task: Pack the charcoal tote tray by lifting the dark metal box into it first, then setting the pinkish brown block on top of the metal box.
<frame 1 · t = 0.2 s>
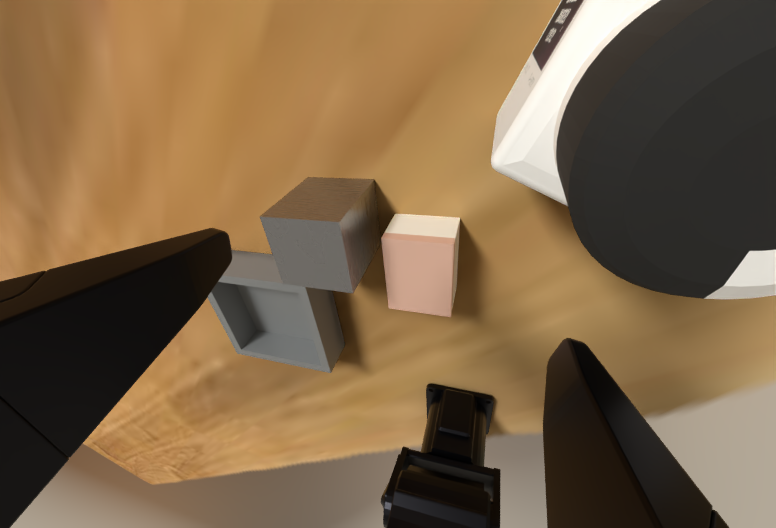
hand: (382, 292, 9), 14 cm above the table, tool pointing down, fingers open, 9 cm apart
metal box: (346, 210, 25), on the table
container: (611, 74, 16), on the table
pinkish brown block: (427, 250, 25), on the table
tote: (286, 299, 33), on the table
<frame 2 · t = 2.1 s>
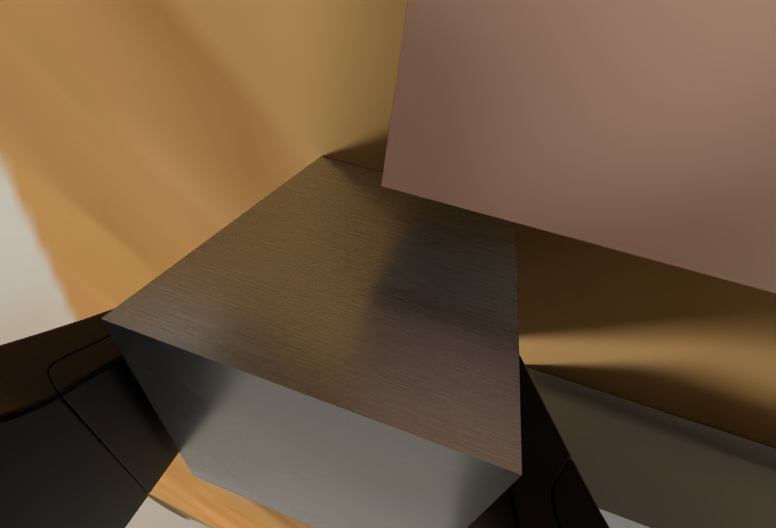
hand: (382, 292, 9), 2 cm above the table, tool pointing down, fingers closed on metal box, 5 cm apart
metal box: (398, 259, 10), on the table, touching gripper
pinkish brown block: (620, 33, 6), on the table
tote: (602, 485, 13), on the table
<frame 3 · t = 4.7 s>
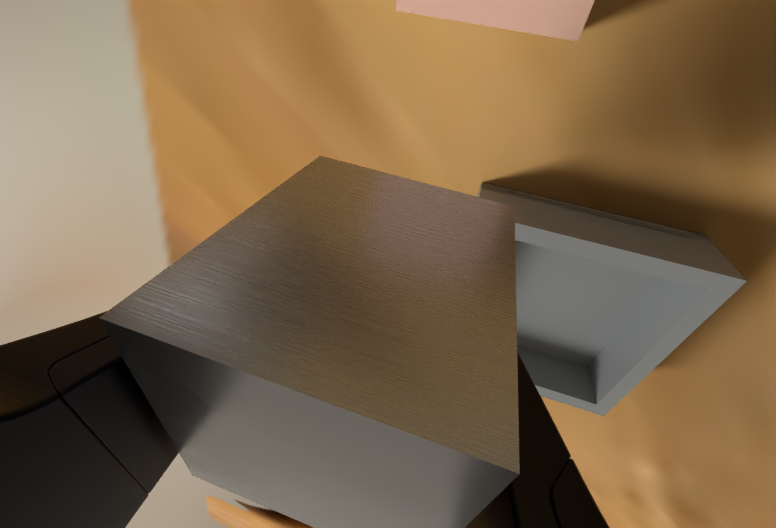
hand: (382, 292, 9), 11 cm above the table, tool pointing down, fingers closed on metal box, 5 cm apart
metal box: (397, 258, 10), point 9 cm above the table, touching gripper
tote: (543, 286, 20), on the table
when the fingers open (4 cm above the table, at t = 7.0 s): metal box drops 2 cm, resting on tote.
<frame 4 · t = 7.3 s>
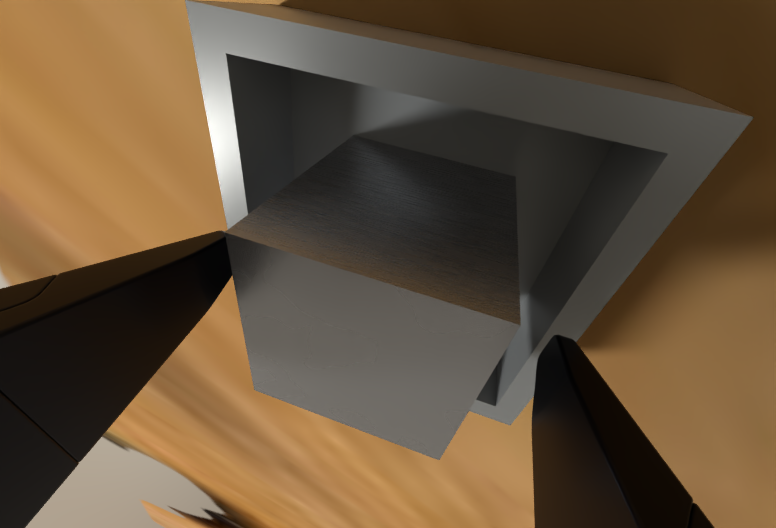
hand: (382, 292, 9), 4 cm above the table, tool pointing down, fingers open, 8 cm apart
metal box: (415, 225, 11), point 1 cm above the table, touching tote
tote: (418, 214, 12), on the table
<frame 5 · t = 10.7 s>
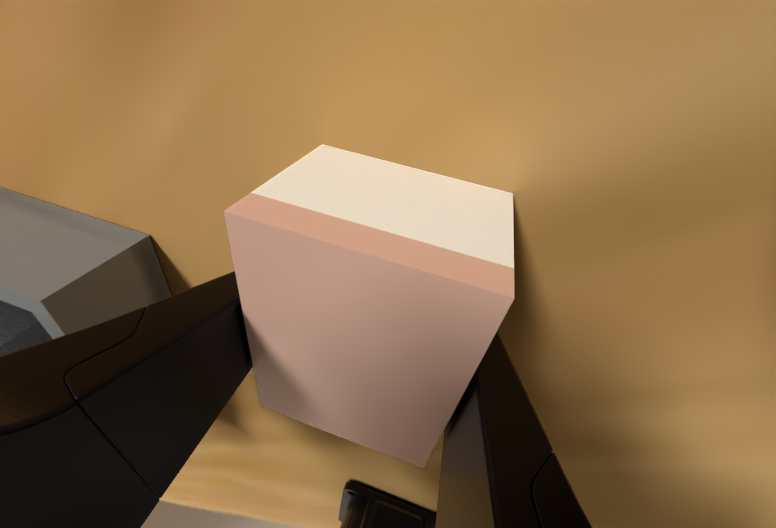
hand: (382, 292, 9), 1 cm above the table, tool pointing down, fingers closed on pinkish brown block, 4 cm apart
metal box: (70, 309, 15), point 1 cm above the table, touching tote
pinkish brown block: (393, 268, 9), on the table, touching gripper
tote: (87, 297, 16), on the table
when the fingers open (8 cm above the table, at t = 14.4 s): pinkish brown block stays where it is, resting on metal box.
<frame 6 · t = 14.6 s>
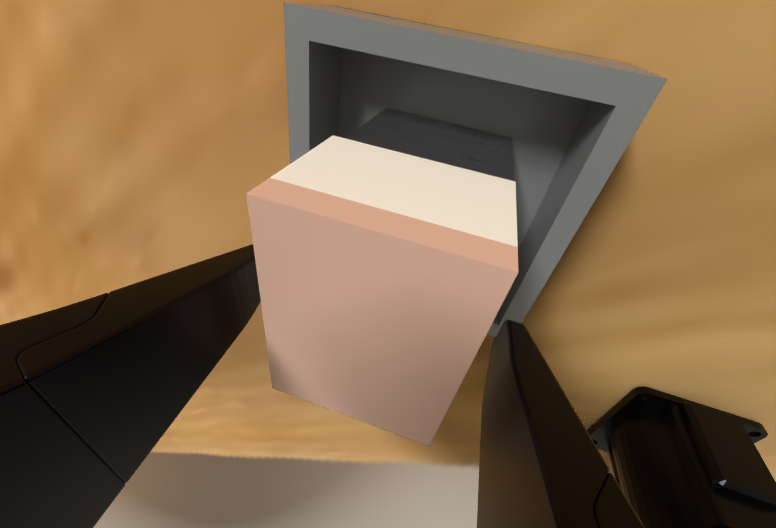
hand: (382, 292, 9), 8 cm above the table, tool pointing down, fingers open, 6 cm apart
metal box: (432, 181, 14), point 1 cm above the table, touching pinkish brown block, tote
pinkish brown block: (399, 256, 10), point 7 cm above the table, touching metal box
tote: (436, 173, 15), on the table
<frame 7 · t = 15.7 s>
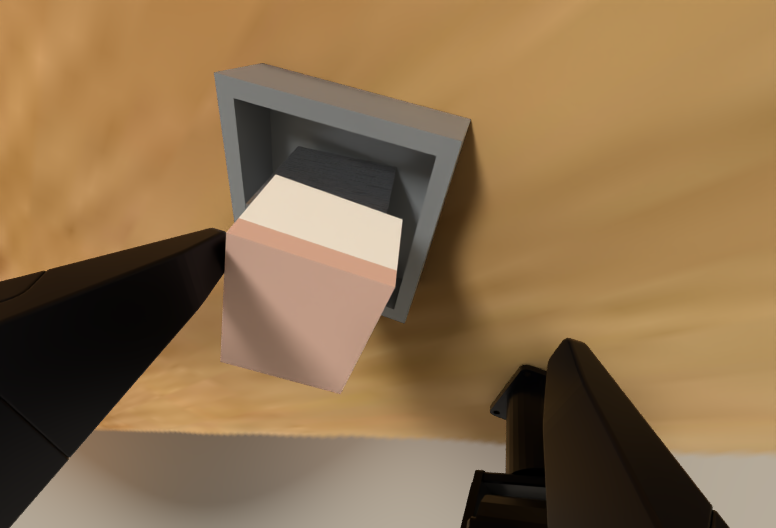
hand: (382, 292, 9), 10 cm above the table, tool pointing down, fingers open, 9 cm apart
metal box: (342, 200, 18), point 1 cm above the table, tilted 11°, touching tote
pinkish brown block: (322, 261, 13), point 7 cm above the table, tilted 11°
tote: (351, 190, 19), on the table
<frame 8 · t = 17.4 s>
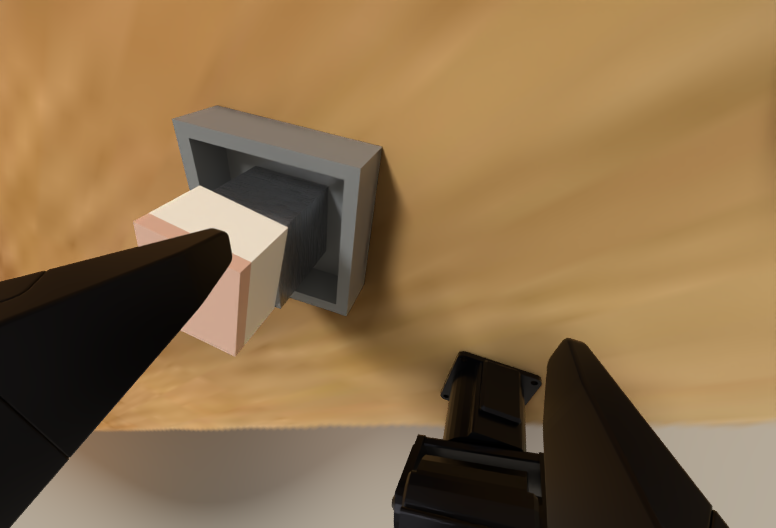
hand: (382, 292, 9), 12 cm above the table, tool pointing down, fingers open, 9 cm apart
metal box: (292, 210, 22), point 1 cm above the table, touching pinkish brown block, tote
pinkish brown block: (241, 253, 17), point 7 cm above the table, touching metal box
tote: (298, 205, 23), on the table
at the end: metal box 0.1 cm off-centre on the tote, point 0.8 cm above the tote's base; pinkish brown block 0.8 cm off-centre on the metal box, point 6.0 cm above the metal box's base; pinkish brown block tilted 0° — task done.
